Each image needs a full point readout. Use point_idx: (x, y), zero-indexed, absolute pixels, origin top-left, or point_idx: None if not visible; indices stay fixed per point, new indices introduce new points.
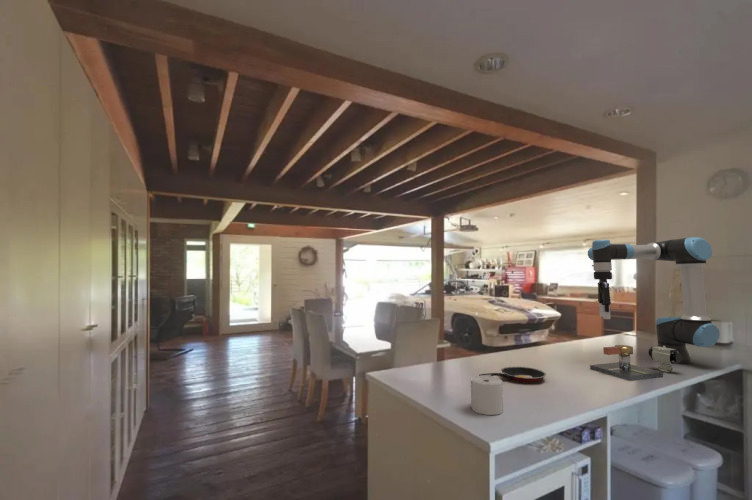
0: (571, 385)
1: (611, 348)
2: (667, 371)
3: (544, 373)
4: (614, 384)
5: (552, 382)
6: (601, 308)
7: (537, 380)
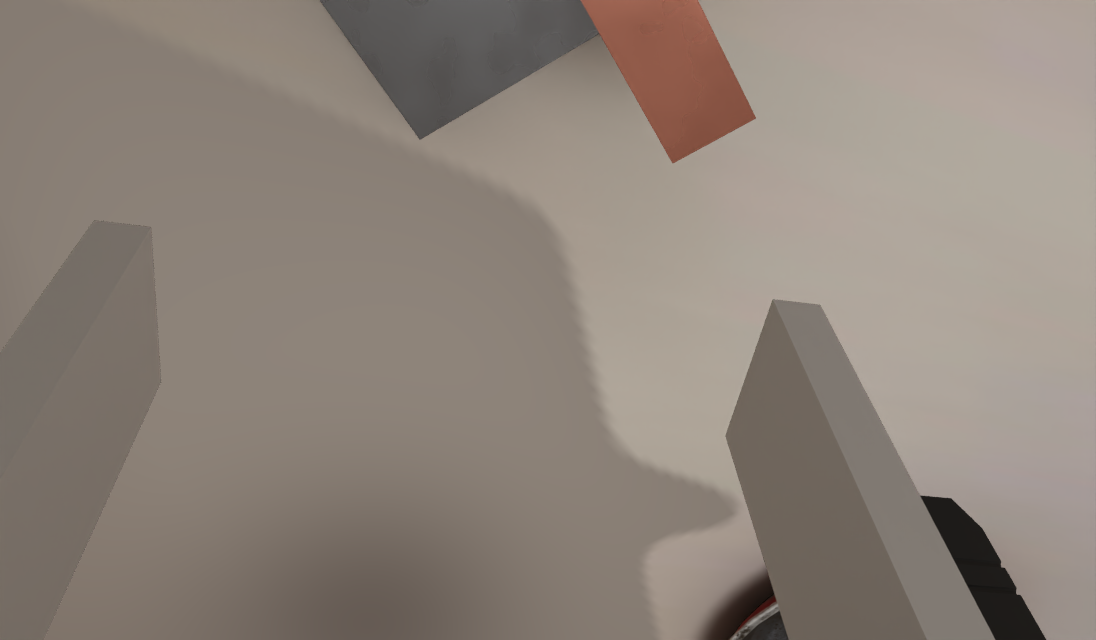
0: (1025, 407)
1: (726, 58)
2: None
3: None
4: (1016, 68)
5: None
6: (63, 544)
7: None
